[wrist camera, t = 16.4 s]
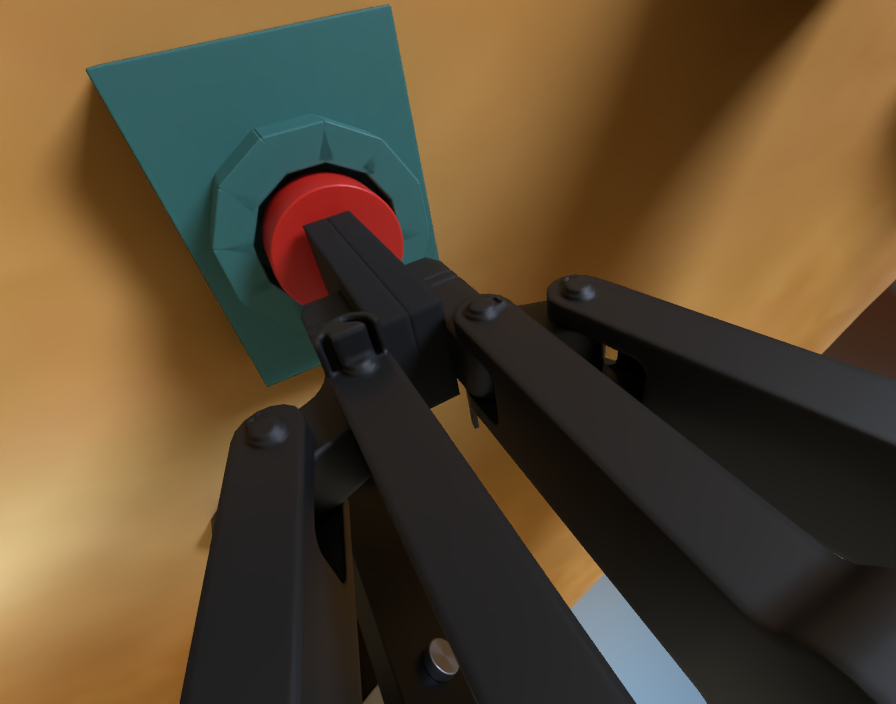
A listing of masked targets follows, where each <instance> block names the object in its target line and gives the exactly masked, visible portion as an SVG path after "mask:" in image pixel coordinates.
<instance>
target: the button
mask: <svg viewBox="0 0 896 704" xmlns="http://www.w3.org/2000/svg"><path fill="white" fill-rule="evenodd" d="M348 210H349V211H350V212H351V213H352V214H353V215H354V216H355V217H356V218H357V219H358V220H359V221H360V222H361V223H362V224H364V225H365V226H366V227H367V228H368V229H369V230H370V231H371V232H372V233H373V234H374V235H375V236H376V237H377V238H378V239H379V240H380V241H381V242H382V243H383V244H384V245H385V246H386V247H387V248H388V249H389V250H390V251H391V252H392V253H393V254H394V255H395V256H396V257H397V258H398V259H399V260H400V261H402V257H403V235H402V230H401V227H400V224H399V222H398V219H397V217H396V215H395V214H394V212H393V211H392V209H391V208H390V207H389V206H388V204H387V203H386V202H385V201H384V200H382V199H381V198H380V197H379V196H378V195H376V194H375V193H374V192H373V191H371V190H370V189H369V188H367V187H366V186H365V185H364V184H362V183H361V182H359V181H358V180H356V179H355V178H353V177H351V176H349V175H347V174H344V173H341V172H336V171H330V170H318V171H311V172H306V173H303V174H301V175H298V176H296V177H294V178H292V179H290V180H289V181H287V182H286V183H285V184H283V185H282V186H281V187H280V188H279V189H278V190H277V191H276V192H275V194H274V195H273V196H272V198H271V199H270V201H269V203H268V205H267V207H266V209H265V212H264V215H263V220H262V228H261V234H262V242H263V247H264V250H265V252H266V255H267V257H268V260H269V262H270V265H271V267H272V270H273V272H274V274H275V277H276V279H277V280H278V282H279V284H280V285H281V287H282V288H283V289H284V291H285V292H286V293H287V294H288V295H289V296H290V297H291V298H293V299H294V300H295V301H296V302H298V303H300V304H301V305H305V304H308V303H310V302H313V301H316V300H318V299H321V298H323V297H326V296H329V294H328V291H327V289H326V286H325V283H324V281H323V278H322V276H321V273H320V270H319V268H318V265H317V263H316V260H315V257H314V255H313V252H312V250H311V247H310V244H309V242H308V239H307V237H306V234H305V231H304V229H303V225H306V224H309V223H312V222H315V221H318V220H321V219H324V218H327V217H330V216H333V215H336V214H339V213H342V212H345V211H348Z"/></svg>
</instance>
